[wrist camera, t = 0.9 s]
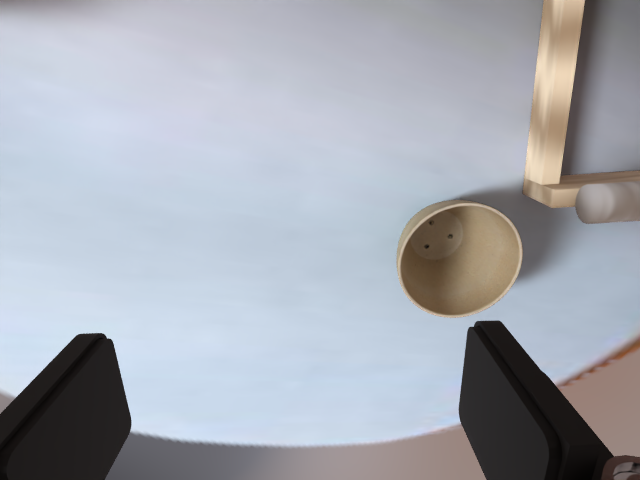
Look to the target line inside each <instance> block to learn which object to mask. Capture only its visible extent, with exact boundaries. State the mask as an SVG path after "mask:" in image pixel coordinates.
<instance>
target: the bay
mask: <svg viewBox="0 0 640 480" xmlns="http://www.w3.org/2000/svg"><path fill="white" fill-rule="evenodd" d="M584 3H585V0H544V3H543V12H542V21H541V30H540V39H539V48H538V57H537V67H536V76H535V85H534V94H533V103H532V112H531V121H530V130H529V139H528V148H527V157H526V166H525V175H524V184H523V194H524V195H526V196H528V197H530V198H532V199H534V200H536V201H539V202H541V203H543V204H545V205H547V206H549V207H551V208H560V207H576V212H577V215H578V217H579V218H580V220H581V221H582V222H584V223H586V224H594V223H610V222H625V221H640V170H639V171H623V172H607V173H592V174H576V175H561V176H560V174H561V167H562V160H563V153H564V146H565V138H566V131H567V124H568V117H569V110H570V103H571V96H572V89H573V81H574V74H575V67H576V60H577V53H578V46H579V39H580V32H581V24H582V17H583V10H584Z"/></svg>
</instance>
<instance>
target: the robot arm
mask: <svg viewBox="0 0 640 480" xmlns="http://www.w3.org/2000/svg"><path fill="white" fill-rule="evenodd" d="M459 416H460V421H461V424H462V426H463V428H464V430H465V432H466V435H467V437H468V439H469V441H470V444H471V446H472V448H473V450H474V453H475V455H476V457H477V459H478V462H479V464H480V466H481V468H482V471H483V473H484V475H485V477H486V479H487V480H640V457H634V456H627V455H624V456H615V457H614V456H613V455H612V453H611V452H610V451H609V450H608V449H607V447H606V446H605V445H604V444H603V443H602V441H601V440H600V439H599V438H598V437H597V435H596V434H595V433H594V432H593V430H592V429H591V428H590V427H589V426H588V424H587V423H586V422H585V421H584V420H583V418H582V417H581V416H580V415H579V414H578V412H577V411H576V410H575V409H574V408H573V406H572V405H571V404H570V403H569V401H568V400H567V399H566V398H565V397H564V395H563V394H562V393H561V392H560V391H559V389H558V388H557V387H556V386H555V384H554V383H553V382H552V381H551V380H550V378H549V377H548V376H547V375H546V374H545V373H544V372H542V371H541V370H540V369H539V367H538V366H537V365H536V364H535V363H534V361H533V360H532V359H531V358H530V356H529V355H528V354H527V353H526V352H525V350H524V349H523V348H522V347H521V345H520V344H519V343H518V342H517V341H516V339H515V338H514V337H513V336H512V334H511V333H510V332H509V331H508V330H507V328H506V327H505V326H504V325H503V323H502V322H500V321H477V322H476V323H475V325H474V327H469V329H468V332H467V341H466V350H465V358H464V367H463V376H462V385H461V394H460V402H459ZM130 429H131V416H130V412H129V408H128V403H127V399H126V395H125V391H124V386H123V382H122V378H121V374H120V370H119V365H118V361H117V357H116V353H115V348H114V344H113V341H112V340H111V339H107V338H106V336H105V335H104V334H102V333H92V334H78V335H77V336H76V337H75V338H74V339H73V340H72V341H71V342H70V343H69V344H68V345H67V346H66V347H65V348H64V349H63V350H62V351H61V352H60V353H59V354H58V355H57V356H56V357H55V358H54V359H53V360H52V361H51V362H50V363H49V364H48V365H47V366H46V367H45V368H44V369H43V371H42V372H41V373H40V374H39V375H38V376H37V377H36V378H35V379H34V380H33V381H32V382H31V383H30V384H29V385H28V386H27V387H26V388H25V389H24V390H23V391H22V392H21V393H20V394H19V395H18V396H17V397H16V398H15V399H14V400H13V401H12V402H11V403H10V405H9V406H8V407H7V408H6V409H5V410H4V411H3V412H2V413H1V414H0V480H105V478H106V476H107V474H108V472H109V470H110V468H111V467H112V465H113V463H114V461H115V459H116V457H117V455H118V454H119V452H120V450H121V448H122V446H123V444H124V442H125V440H126V439H127V437H128V435H129V433H130Z"/></svg>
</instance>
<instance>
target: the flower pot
mask: <svg viewBox="0 0 640 480" xmlns="http://www.w3.org/2000/svg"><path fill="white" fill-rule="evenodd" d="M429 222H431V225H430V224H429ZM450 234H451V236H449V235H450ZM428 245H429V247H428V248H426V247H427V246H428ZM522 258H523V249H522V242H521V238H520V235H519V233H518V231H517V229H516V227H515V226H514V224H513V223H512V222H511V220H510V219H509V218H508V217H506V216H505V215H504V214H503V213H501V212H500V211H498V210H496V209H494V208H492V207H490V206H487V205H484V204H481V203H477V202H473V201H465V200H449V201H442V202H438V203H435V204H432V205H430V206H427V207H426V208H424V209H422V210H421V211H419V212H418V213H417V214H415V215H414V216H413V217H412V218H411V219H410V221H409V222H408V223H407V225H406V226H405V228H404V230H403V232H402V234H401V237H400V240H399V244H398V248H397V271H398V276H399V281H400V284H401V287H402V289H403V291H404V292H405V294H406V296H407V297H408V298H409V299H410V301H411V302H412V303H413V304H415V305H416V306H417V307H418V308H420V309H422V310H423V311H425V312H427V313H430V314H433V315H436V316H440V317H449V318H456V317H465V316H469V315H473V314H476V313H479V312H481V311H483V310H485V309H487V308H489V307H490V306H492V305H494V304H495V303H496V302H498V301H499V300H500V299H501V298H502V297H503V296H504V295H505V294H506V293H507V292H508V291H509V289H510V288H511V287H512V285H513V284H514V282H515V280H516V278H517V276H518V274H519V271H520V268H521V264H522Z"/></svg>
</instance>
